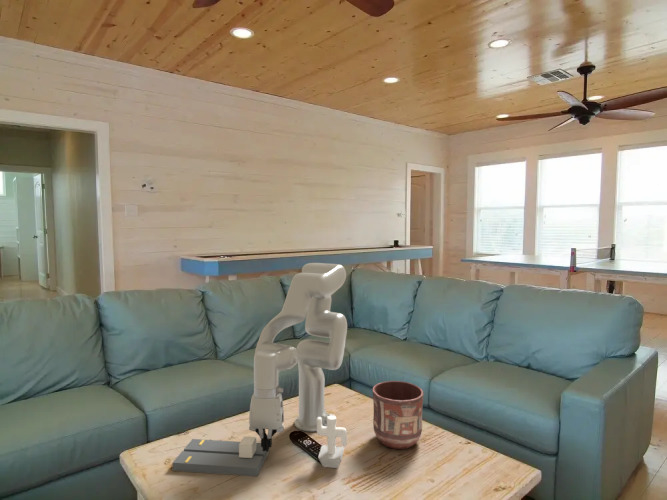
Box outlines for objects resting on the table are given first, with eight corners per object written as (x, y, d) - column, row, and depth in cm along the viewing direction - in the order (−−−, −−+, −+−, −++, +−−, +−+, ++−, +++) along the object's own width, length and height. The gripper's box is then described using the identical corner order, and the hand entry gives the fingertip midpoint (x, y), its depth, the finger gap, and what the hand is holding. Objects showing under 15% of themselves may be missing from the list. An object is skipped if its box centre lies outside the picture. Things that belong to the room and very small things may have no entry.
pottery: (360, 439, 145) (361, 388, 144) (394, 423, 156) (394, 376, 155) (400, 461, 131) (401, 405, 130) (433, 442, 143) (434, 391, 142)
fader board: (269, 450, 137) (269, 442, 137) (257, 476, 123) (257, 467, 123) (192, 446, 139) (192, 438, 139) (172, 470, 125) (172, 461, 125)
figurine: (345, 471, 126) (345, 423, 125) (314, 468, 127) (314, 420, 126) (347, 458, 133) (348, 412, 132) (318, 455, 134) (318, 410, 133)
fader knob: (256, 452, 133) (256, 437, 132) (251, 461, 128) (251, 445, 127) (244, 451, 133) (244, 436, 133) (239, 460, 128) (238, 444, 128)
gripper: (292, 387, 131) (292, 444, 133) (246, 385, 133) (246, 441, 134) (288, 397, 124) (287, 457, 125) (238, 395, 125) (239, 454, 126)
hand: (266, 449), depth 129 cm, fingers closed
